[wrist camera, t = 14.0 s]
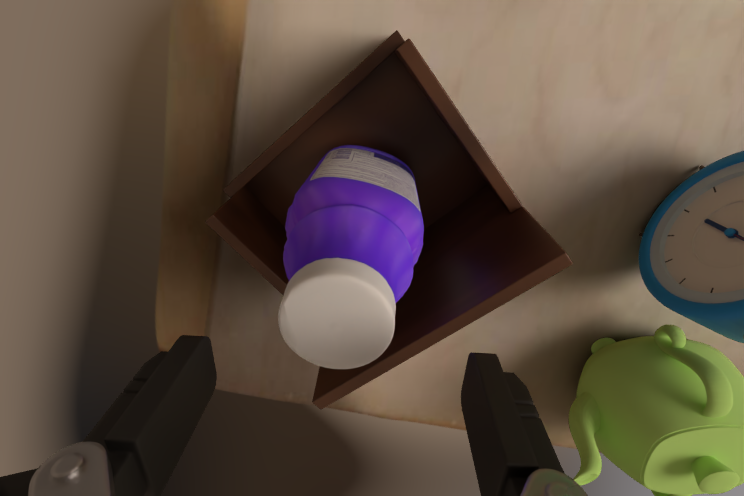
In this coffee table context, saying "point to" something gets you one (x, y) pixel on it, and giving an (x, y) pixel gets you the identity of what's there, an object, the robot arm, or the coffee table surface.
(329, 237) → the bottle
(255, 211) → the box
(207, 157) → the coffee table surface
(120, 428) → the robot arm
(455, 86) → the coffee table surface
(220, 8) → the coffee table surface
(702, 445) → the teapot
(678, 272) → the alarm clock
